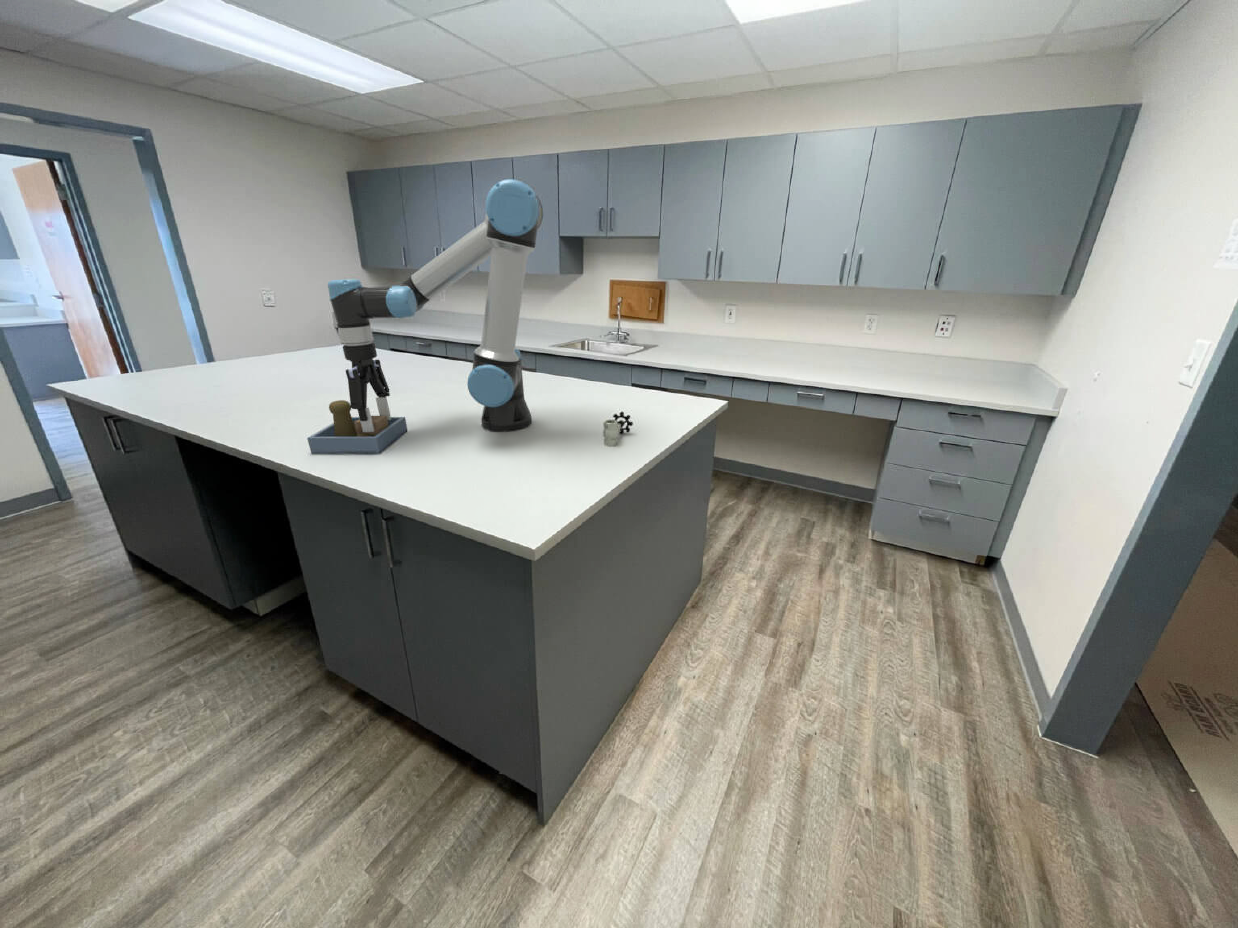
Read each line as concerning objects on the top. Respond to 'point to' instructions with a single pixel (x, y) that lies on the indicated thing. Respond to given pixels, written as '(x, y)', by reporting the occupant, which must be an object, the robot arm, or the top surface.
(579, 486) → the top surface
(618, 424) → the valve
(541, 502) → the top surface
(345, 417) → the cork
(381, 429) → the walnut block
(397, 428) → the tray
